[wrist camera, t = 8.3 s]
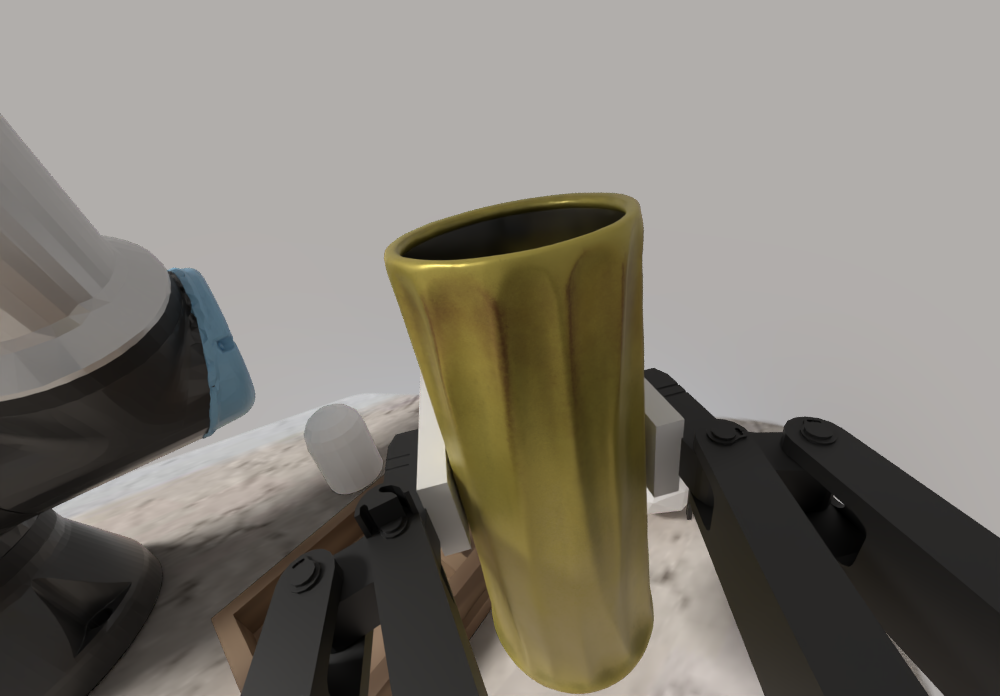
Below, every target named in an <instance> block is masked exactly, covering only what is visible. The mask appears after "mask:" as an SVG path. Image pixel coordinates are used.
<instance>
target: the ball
mask: <svg viewBox="0 0 1000 696" xmlns="http://www.w3.org/2000/svg"><path fill="white" fill-rule="evenodd" d="M688 490H689V488H688V487H687V486H686V484H685V483H684V482H683V480H682V479H681V478H680V480H679V491H677V492H673V493H670V494H666V495H662V496H659V497H655V498H654V497H653V496H652V494H651V493H650V491H649V490H648V488H647V514H654V513H663V512H673V511H681V510H682V509H683V508H684V507H685V506H686V505H687V500H688Z"/></svg>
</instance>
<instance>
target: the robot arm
mask: <svg viewBox="0 0 1000 696" xmlns="http://www.w3.org/2000/svg"><path fill="white" fill-rule="evenodd" d="M644 390H645V436H646V486H647V488H648V490H649V491H650V493H651V494H652V496H653V497H654V498H655V497H659V496H662V495H666V494H670V493H673V492H677V491H679V480H680V478H681V479H682V480H683V482H684V483H685V484H686V486H687V487H688V488H689V490H688V500H687V510H686V514H687V520H691V519H692V511H693V514H694V516H695V519H696V521H697V524H698V526H699V529H700V532H701V534H702V537H703V539H704V542H705V544H706V547H707V549H708V552H709V555H710V557H711V560H712V562H713V565H714V567H715V570H716V572H717V575H718V578H719V580H720V583H721V585H722V588H723V590H724V593H725V595H726V598H727V601H728V603H729V606H730V608H731V611H732V613H733V616H734V618H735V621H736V624H737V626H738V629H739V631H740V634H741V636H742V639H743V641H744V644H745V647H746V649H747V652H748V654H749V657H750V659H751V662H752V664H753V667H754V670H755V672H756V675H757V677H758V680H759V682H760V685H761V687H762V690H763V693H764V695H765V696H929V695H928V694H927V692H926V691H925V690H924V688H923V687H922V685H921V684H920V682H919V681H918V679H917V678H916V676H915V675H914V673H913V672H912V670H911V669H910V668H909V666H908V665H907V663H906V662H905V660H904V659H903V657H902V656H901V654H900V653H899V651H898V650H897V648H896V647H895V645H894V644H893V643H892V641H891V640H890V638H889V637H888V635H889V636H890V637H891V638H892V639H893V640H894V641H895V643H896V644H897V645H898V646H899V647H900V648H901V649H902V650H903V651H904V652H905V653H906V654H907V656H908V657H909V658H910V659H911V660H912V661H913V662H914V663H915V664H916V665H917V666H918V668H919V669H920V670H921V671H922V672H923V673H924V674H925V675H926V676H927V677H928V678H929V679H930V681H931V682H932V683H933V684H934V685H935V686H936V687H937V688H938V689H939V690H940V691H941V692H942V693H943V695H944V696H1000V538H999V537H998V536H996V535H995V534H993V533H992V532H991V531H989V530H987V529H986V528H984V527H983V526H982V525H980V524H979V523H978V522H976V521H974V520H973V519H972V518H970V517H969V516H968V515H966V514H965V513H963V512H962V511H960V510H959V509H957V508H956V507H955V506H953V505H951V504H950V503H949V502H947V501H946V500H945V499H943V498H942V497H940V496H939V495H937V494H936V493H934V492H933V491H932V490H930V489H929V488H927V487H926V486H924V485H923V484H922V483H920V482H919V481H917V480H916V479H914V478H913V477H911V476H910V475H909V474H907V473H906V472H904V471H903V470H901V469H900V468H899V467H897V466H896V465H894V464H893V463H891V462H890V461H888V460H887V459H886V458H884V457H883V456H881V455H880V454H878V453H877V452H876V451H874V450H872V449H871V448H870V447H868V446H867V445H865V444H864V443H863V442H861V441H860V440H858V439H857V438H855V437H854V436H853V435H851V434H850V433H848V432H847V431H845V430H844V429H842V428H840V427H839V426H837V425H835V424H833V423H831V422H829V421H825V420H822V419H819V418H813V417H797V418H793V419H791V420H789V421H787V423H786V424H785V426H784V429H783V432H769V433H754V432H748V431H747V430H746V429H745V428H744V427H742V426H740V425H738V424H736V423H735V422H731V421H728V420H724V419H716V418H715V417H714V416H712V415H711V414H710V413H709V412H708V411H707V410H706V409H705V408H704V407H703V406H702V405H701V404H700V403H698V402H697V401H696V400H695V399H694V398H693V397H692V396H691V395H690V394H689V393H686V391H685V390H684V389H683V388H682V387H681V386H680V385H678V383H677V382H676V381H675V380H674V379H672V378H671V377H670V376H669V375H668V374H666V373H664V372H662V371H660V370H657V369H655V368H651V369H647V370H644ZM254 401H255V390H254V386H253V383H252V381H251V378H250V375H249V372H248V370H247V368H246V365H245V363H244V360H243V358H242V356H241V354H240V352H239V349H238V347H237V345H236V344H235V342H234V341H233V336H232V334H231V333H230V330H229V328H228V325H227V323H226V320H225V318H224V316H223V314H222V312H221V310H220V308H219V306H218V304H217V302H216V300H215V298H214V296H213V294H212V292H211V290H210V288H209V286H208V284H207V283H206V281H205V279H204V278H203V276H202V275H201V273H200V272H198V271H197V270H195V269H192V268H184V269H179V268H172V269H170V270H166V268H165V267H164V265H163V264H162V263H161V262H160V261H159V260H158V259H157V258H156V257H155V256H154V255H153V254H152V253H150V252H149V251H148V250H146V249H144V248H143V247H141V246H139V245H137V244H134V243H131V242H129V241H126V240H122V239H118V238H114V237H108V236H102V235H100V234H99V232H98V231H97V230H96V229H95V228H94V226H93V225H92V224H91V223H90V222H89V220H88V219H87V218H86V217H85V216H84V214H83V213H82V212H81V211H80V210H79V208H78V207H77V206H76V205H75V204H74V202H73V201H72V200H71V199H70V197H69V196H68V195H67V194H66V193H65V191H64V190H63V189H62V188H61V187H60V185H59V184H58V183H57V182H56V180H55V179H54V178H53V177H52V176H51V174H50V173H49V172H48V171H47V169H46V168H45V167H44V166H43V165H42V163H41V162H40V161H39V160H38V159H37V157H36V156H35V155H34V154H33V152H32V151H31V150H30V149H29V148H28V146H26V144H25V143H24V142H23V140H22V139H21V138H20V137H19V136H18V135H17V133H16V132H15V131H14V130H13V128H12V127H11V126H10V125H9V123H8V122H7V121H6V120H5V119H4V118H3V116H2V115H1V114H0V696H86V695H87V694H88V693H89V692H90V691H91V690H92V689H93V688H94V687H95V686H96V685H97V683H98V682H99V681H100V680H101V679H102V678H103V677H104V676H105V675H106V674H107V672H108V671H109V670H110V669H111V668H112V667H113V665H114V664H115V663H116V662H117V661H118V659H119V658H120V657H121V656H122V654H123V653H124V652H125V650H126V649H127V648H128V647H129V645H130V644H131V642H132V641H133V640H134V638H135V637H136V635H137V634H138V632H139V631H140V629H141V628H142V626H143V624H144V623H145V621H146V619H147V618H148V616H149V614H150V612H151V610H152V608H153V606H154V604H155V602H156V599H157V597H158V594H159V591H160V587H161V582H162V567H161V564H160V562H159V560H158V559H157V558H156V557H155V556H154V555H153V554H152V553H151V552H150V551H148V550H147V549H146V548H145V547H144V546H143V545H142V544H140V543H139V542H137V541H135V540H133V539H131V538H128V537H125V536H121V535H118V534H115V533H112V532H108V531H105V530H102V529H99V528H95V527H92V526H89V525H86V524H82V523H79V522H76V521H73V520H69V519H66V518H64V517H62V516H60V515H59V514H57V513H56V512H55V511H54V510H52V508H53V507H55V506H58V505H60V504H62V503H64V502H66V501H68V500H70V499H72V498H74V497H76V496H78V495H81V494H83V493H85V492H87V491H89V490H91V489H93V488H96V487H98V486H100V485H102V484H104V483H106V482H109V481H111V480H113V479H115V478H117V477H119V476H122V475H124V474H126V473H128V472H130V471H132V470H135V469H137V468H139V467H141V466H143V465H145V464H147V463H149V462H151V461H154V460H156V459H158V458H160V457H162V456H165V455H167V454H169V453H171V452H173V451H175V450H178V449H180V448H182V447H184V446H186V445H188V444H191V443H193V442H195V441H197V440H199V439H201V438H206V437H209V436H211V435H212V434H213V433H214V432H215V431H216V430H217V429H219V428H221V427H223V426H224V425H226V424H228V423H230V422H232V421H234V420H236V419H238V418H239V417H241V416H243V415H245V414H246V413H247V412H248V411H249V410H250V409H251V407H252V406H253V404H254ZM386 460H387V462H386V467H385V474H384V481H383V483H382V484H379V485H377V486H375V487H373V488H372V489H370V490H369V491H367V493H366V494H365V495H364V496H363V497H362V498H361V499H360V500H359V502H358V504H357V506H356V508H355V514H354V518H355V520H356V521H357V523H358V525H359V527H360V528H361V530H362V532H363V533H364V536H363V537H362V538H361V539H359V540H358V541H357V542H355V543H354V544H352V545H350V546H348V547H347V548H345V549H343V550H341V551H340V552H338V553H336V554H334V555H332V554H331V552H330V551H327V550H325V549H316V550H311V551H309V552H307V553H305V554H302V555H301V556H299V557H298V558H297V559H296V560H294V561H293V562H292V563H290V565H289V566H288V567H287V568H286V569H285V571H284V572H283V573H282V574H281V576H280V578H279V580H278V582H277V584H276V587H275V590H274V593H273V596H272V599H271V602H270V605H269V609H268V612H267V615H266V618H265V621H264V624H263V627H262V630H261V633H260V637H259V640H258V643H257V646H256V649H255V652H254V655H253V658H252V661H251V665H250V668H249V671H248V674H247V677H246V680H245V683H244V686H243V689H242V693H241V696H368V691H369V679H370V667H371V656H372V644H373V632H374V629H375V628H376V627H378V626H379V625H381V630H382V636H383V643H384V649H385V655H386V661H387V667H388V674H389V680H390V686H391V692H392V696H488V694H487V691H486V689H485V686H484V683H483V680H482V677H481V674H480V671H479V668H478V665H477V663H476V660H475V657H474V654H473V651H472V648H471V645H470V642H469V640H468V637H467V634H466V631H465V628H464V625H463V622H462V619H461V616H460V614H459V611H458V608H457V605H456V602H455V599H454V596H453V593H452V591H451V588H450V585H449V582H448V579H447V576H446V573H445V571H444V568H443V566H442V564H441V549H442V551H443V553H444V556H447V555H451V554H455V553H458V552H462V551H465V550H469V549H471V542H470V533H469V523H468V520H467V516H466V513H465V510H464V507H463V504H462V501H461V498H460V495H459V492H458V489H457V485H456V482H455V478H454V475H453V471H452V468H451V465H450V461H449V458H448V454H447V451H446V447H445V444H444V440H443V437H442V434H441V432H440V429H439V426H438V423H437V420H436V417H435V413H434V410H433V407H432V404H431V401H430V398H429V395H428V392H427V389H426V385H425V382H424V379H423V376H422V373H421V375H420V402H419V429H417V430H413V431H409V432H405V433H401V434H397V435H395V437H394V439H393V440H392V442H391V443H390V445H389V447H388V452H387V459H386ZM833 495H834V496H835V497H836V498H837V499H839V500H840V501H841V502H842V503H843V504H844V505H843V504H841V503H840V502H838V501H837V500H836V499H835V498H834V497H833ZM886 633H887V634H888V635H887V634H886Z"/></svg>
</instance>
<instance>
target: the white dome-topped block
mask: <svg viewBox="0 0 1000 696" xmlns="http://www.w3.org/2000/svg"><path fill="white" fill-rule="evenodd" d="M304 438H305V442H306V445H307V449H308V451H309V453H310V454H311V456H312V458H313V459H314V461H315V463H316V464H317V466H318V468H319V470H320V471H321V473H322V475H323V476H324V478H325V480H326V481H327V483H328V485H329V486H330V488H331V490H333V491H334V492H336V493H337V494H350V493H354V492H357V491H359V490H361V489H363V488H365V487H366V486H368V485H370V484H371V483H372V482H373V481H374V480H375V479H376V478H377V477H378V475H379V473H380V472H381V470H382V466H383V460H382V458H381V456H380V453H379V451H378V449H377V447H376V445H375V443H374V441H373V439H372V436H371V434H370V432H369V430H368V428H367V426H366V424H365V421H364V420H363V418H362V416H361V415H360V414H359V413H358V411H357V410H356V409H354V408H351V407H349V406H347V405H344V404H332V405H327V406H324V407H322V408H320V409H319V410H317V411H316V412H315V413H314V414H313V415H312V416H311V417H310V418H309V420H308V422H307V424H306V427H305V431H304Z"/></svg>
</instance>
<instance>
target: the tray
mask: <svg viewBox="0 0 1000 696" xmlns="http://www.w3.org/2000/svg"><path fill="white" fill-rule="evenodd" d="M383 481H384V475H383V476H382V477H380V478H379V479H378V480H377V481H376V482H374V483H373V484H372V485H371V486H370V487H368V488H367V489H366V490H365V491H364V492H362V493H361V494H360V495H359V496H358V497H356V498H355V499H354V500H353V501H352V502H350V503H349V504H348V505H347V506H346V507H344V508H343V509H342V510H341V511H340V512H338V513H337V514H336V515H335V516H334V517H332V518H331V519H330V520H329V521H328V522H326V523H325V524H324V525H323V526H322V527H320V528H319V529H318V530H317V531H316V532H314V533H313V534H312V535H311V536H310V537H308V538H307V539H306V540H305V541H304V542H302V543H301V544H300V545H299V546H298V547H296V548H295V549H294V550H293V551H292V552H290V553H289V554H288V555H287V556H286V557H284V558H283V559H282V560H281V561H280V562H278V563H277V564H276V565H275V566H274V567H272V568H271V569H270V570H269V571H268V572H266V573H265V574H264V575H263V576H262V577H260V578H259V579H258V580H257V581H256V582H254V583H253V584H252V585H251V586H250V587H248V588H247V589H246V590H245V591H244V592H242V593H241V594H240V595H239V596H238V597H236V598H235V599H234V600H233V601H232V602H230V603H229V604H228V605H227V606H226V607H224V608H223V609H222V610H221V611H220V612H218V613H217V614H216V615H215V616H214V617H212V618H211V621H212V623H213V626H214V628H215V631H216V633H217V635H218V638H219V640H220V643H221V645H222V648H223V650H224V653H225V655H226V658H227V660H228V663H229V665H230V668H231V670H232V673H233V675H234V678H235V680H236V683H237V685H238V688H239V690H240V692H241V693H242V689H243V686H244V683H245V680H246V677H247V674H248V671H249V668H250V665H251V661H252V658H253V655H254V652H255V649H256V646H257V643H258V640H259V637H260V633H261V630H262V627H263V624H264V621H265V618H266V615H267V612H268V609H269V605H270V602H271V599H272V596H273V593H274V590H275V587H276V584H277V582H278V580H279V578H280V576H281V574H282V573H283V572H284V571H285V569H286V568H287V567H288V566H289V565H290V563H292V562H293V561H294V560H296V559H297V558H298V557H299V556H301V555H302V554H305V553H307V552H309V551H311V550H316V549H325V550H327V551H330V552H331V554H332V555H334V554H336V553H338V552H340V551H341V550H343V549H345V548H347V547H348V546H350V545H352V544H354V543H355V542H357V541H358V540H359V539H361V538H362V537H363V536H364V533H363V532H362V530H361V528H360V527H359V525H358V523H357V521H356V520H355V518H354V514H355V508H356V506H357V504H358V502H359V500H360V499H361V498H362V497H363V496H364V495H365V494H366V493H367V491H369V490H370V489H372V488H373V487H375V486H377V485H379V484H382V483H383ZM469 533H470V542H471V549H469V550H465V551H462V552H458V553H455V554H451V555H447V556H444V553H443V551H442V549H441V564H442V566H443V568H444V571H445V573H446V576H447V579H448V582H449V585H450V588H451V591H452V593H453V596H454V599H455V602H456V605H457V608H458V611H459V614H460V616H461V619H462V622H463V625H464V628H465V631H466V634H467V637H468V640H470V638H471V637H472V635H473V634H474V633H475V631H476V630H477V628H478V627H479V625H480V624H481V623H482V621H483V620H484V618H485V617H486V616H487V614H488V613H489V611H490V610H491V609H492V605H491V601H490V597H489V594H488V591H487V587H486V583H485V579H484V575H483V571H482V567H481V563H480V560H479V556H478V553H477V550H476V547H475V543H474V540H473V537H472V533H471V530H470V526H469ZM368 696H392V692H391V686H390V680H389V674H388V667H387V661H386V655H385V649H384V643H383V636H382V630H381V625H379V626H378V627H376V628H375V629H374V632H373V644H372V656H371V667H370V679H369V691H368Z"/></svg>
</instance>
